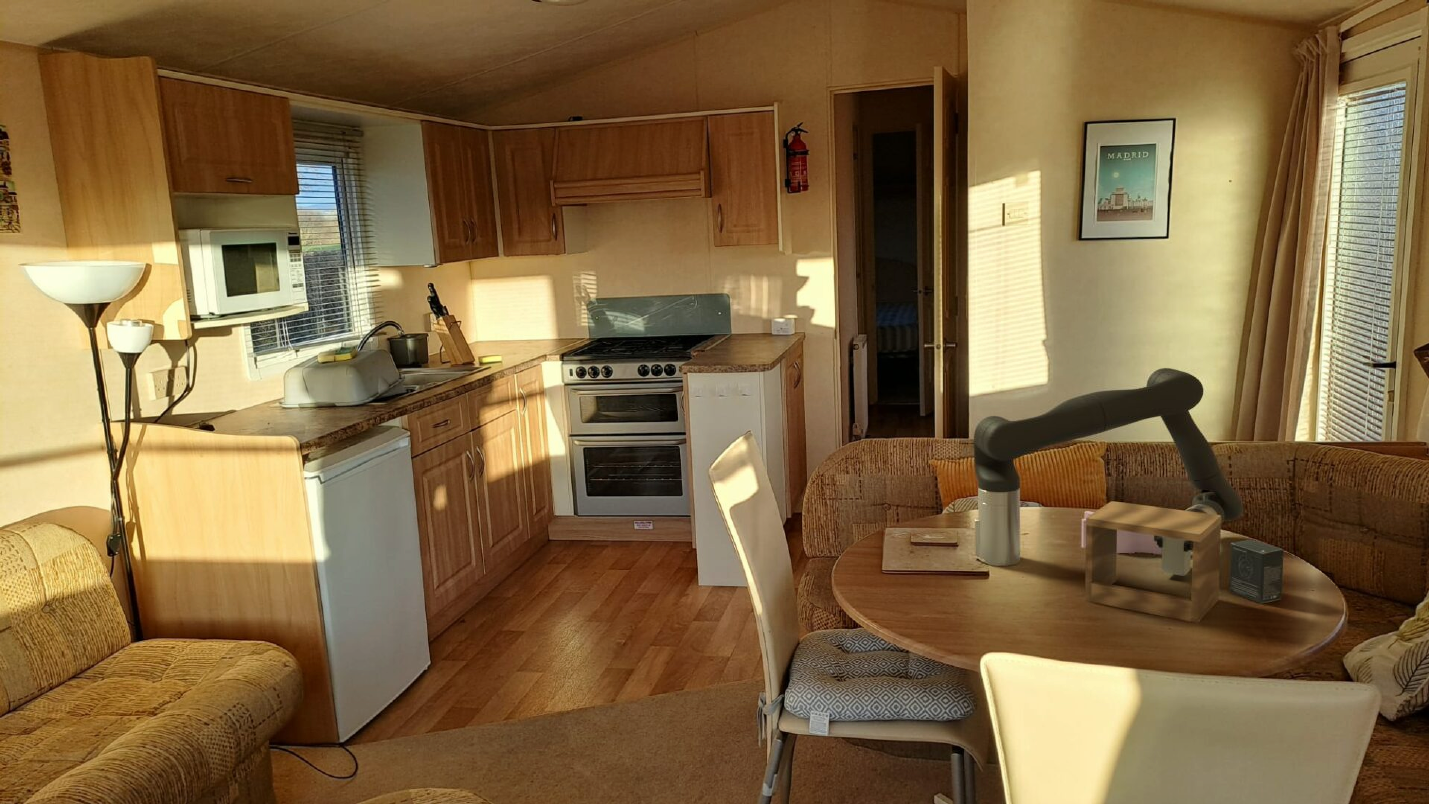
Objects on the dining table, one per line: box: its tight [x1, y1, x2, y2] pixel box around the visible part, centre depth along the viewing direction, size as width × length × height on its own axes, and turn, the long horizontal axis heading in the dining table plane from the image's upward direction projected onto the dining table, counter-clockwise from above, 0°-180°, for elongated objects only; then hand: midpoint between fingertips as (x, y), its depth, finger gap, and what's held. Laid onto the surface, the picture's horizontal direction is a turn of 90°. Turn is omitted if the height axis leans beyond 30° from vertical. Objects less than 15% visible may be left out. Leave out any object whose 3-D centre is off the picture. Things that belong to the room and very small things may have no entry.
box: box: [1229, 539, 1284, 604], centre depth 204 cm, size 8×6×11 cm
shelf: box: [1084, 500, 1222, 624], centre depth 204 cm, size 21×14×18 cm
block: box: [1161, 537, 1192, 577], centre depth 216 cm, size 4×4×12 cm
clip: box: [1081, 510, 1162, 555], centre depth 238 cm, size 20×12×7 cm, turn 65°
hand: (1172, 545), depth 214 cm, fingers closed on block, 4 cm apart
